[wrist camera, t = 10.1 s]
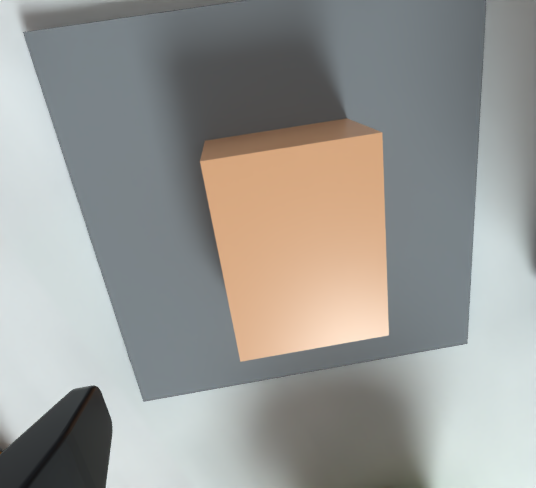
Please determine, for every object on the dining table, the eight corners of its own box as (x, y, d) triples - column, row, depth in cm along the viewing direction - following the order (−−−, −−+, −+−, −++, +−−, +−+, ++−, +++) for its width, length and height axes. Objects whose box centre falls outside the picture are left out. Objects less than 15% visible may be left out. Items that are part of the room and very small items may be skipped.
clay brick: (346, 118, 14) (382, 132, 11) (357, 285, 17) (389, 335, 14) (204, 140, 14) (199, 161, 11) (237, 306, 17) (240, 361, 13)
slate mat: (477, -31, 14) (488, -35, 13) (460, 335, 19) (467, 343, 18) (31, 33, 13) (23, 32, 12) (146, 391, 18) (143, 401, 18)
